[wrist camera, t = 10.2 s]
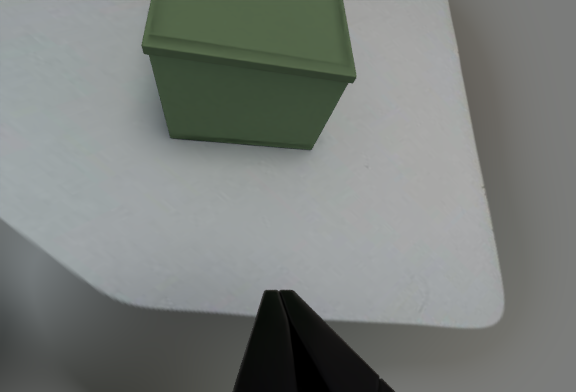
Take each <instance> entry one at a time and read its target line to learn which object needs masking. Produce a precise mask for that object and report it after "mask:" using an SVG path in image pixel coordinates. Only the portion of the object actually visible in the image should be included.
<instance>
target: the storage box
mask: <svg viewBox="0 0 576 392" xmlns="http://www.w3.org/2000/svg"><path fill="white" fill-rule="evenodd" d="M142 49H143V53H144V54H147V55H149V57H150V61H151V65H152V68H153V72H154V76H155V80H156V84H157V88H158V92H159V96H160V100H161V103H162V107H163V111H164V115H165V119H166V123H167V127H168V131H169V135H170V138H176V139H188V140H200V141H212V142H223V143H235V144H247V145H259V146H271V147H283V148H295V149H307V150H312V148H313V146H314V144H315V143H316V141H317V139H318V137H319V135H320V134H321V132H322V130H323V128H324V126H325V124H326V123H327V121H328V119H329V117H330V115H331V114H332V112H333V110H334V108H335V106H336V104H337V103H338V101H339V99H340V97H341V95H342V94H343V92H344V90H345V88H346V86H347V85H348V83H353V82H354V81H355V79H356V71H355V65H354V59H353V54H352V48H351V42H350V37H349V31H348V25H347V20H346V14H345V8H344V3H343V0H151V3H150V8H149V12H148V17H147V22H146V27H145V31H144V36H143V41H142Z"/></svg>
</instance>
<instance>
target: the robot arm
mask: <svg viewBox="0 0 576 392" xmlns="http://www.w3.org/2000/svg"><path fill="white" fill-rule="evenodd" d="M233 392H395V391H394V390H393V389H392V388H391V387H390V386H389V385H388V384H387V383H386V382H385V381H384V380H383V379H379V375H378V374H377V373H376V372H375V371H374V370H373V369H372V368H371V367H370V366H369V365H368V364H366V362H365V361H364V360H363V359H362V358H361V357H360V356H359V355H358V354H357V353H356V352H355V351H354V350H353V349H352V348H351V347H350V346H348V344H347V343H346V342H345V341H344V340H343V339H342V338H341V337H340V336H339V335H338V334H337V333H336V332H335V331H334V330H333V329H332V328H331V327H329V325H328V324H327V323H326V322H325V321H324V320H323V319H322V318H321V317H320V316H319V315H318V314H317V313H316V312H315V311H314V310H313V309H312V308H311V307H310V306H309V305H308V304H307V303H306V302H305V301H304V300H303V299H302V298H301V297H300V296H299V295H298V294H297V293H296V292H295V291H293V290H280V291H278V290H265V291H264V293H263V296H262V299H261V302H260V306H259V309H258V312H257V315H256V318H255V322H254V325H253V328H252V331H251V334H250V338H249V341H248V344H247V347H246V350H245V354H244V357H243V360H242V363H241V366H240V369H239V373H238V376H237V379H236V382H235V385H234V389H233Z"/></svg>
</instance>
